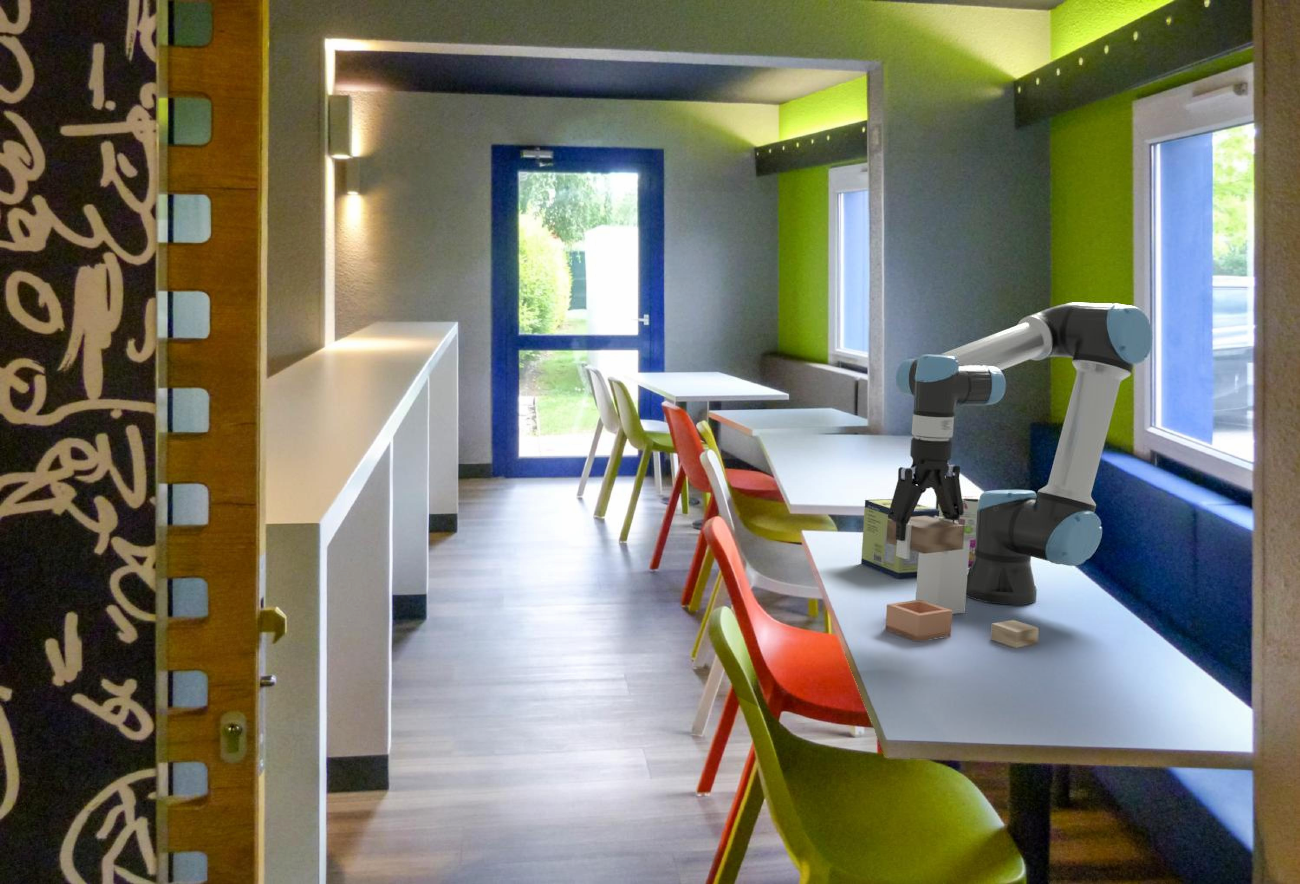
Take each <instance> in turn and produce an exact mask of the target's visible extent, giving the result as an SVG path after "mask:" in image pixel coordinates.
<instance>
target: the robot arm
mask: <svg viewBox="0 0 1300 884" xmlns="http://www.w3.org/2000/svg"><path fill="white" fill-rule="evenodd" d="M1152 330H1153V329H1152V326H1151V324H1150V320H1149V318H1148V316H1147V315H1146V313H1145V312H1144V311H1143V310H1142V309H1140V308H1139V307H1137V306H1134V305H1129V304H1128V305H1127V304H1121V303H1120V302H1119V303H1117V302H1116V303H1094V302H1091V303H1090V302H1078V301H1077V302H1067V303H1065V304H1063V303H1062V304H1060V305H1055V306H1052V307H1049V308H1046V309H1043V310H1042V311H1039V312H1036V313H1032V314H1030V315H1028V316H1025V317H1023V318H1022V319H1020V320H1019V322H1018V323H1017V325H1015V326H1012V327H1009V328H1007V329H1004V330H1001V331H999V332H995V333H994V334H991V335H988V336H985V337H983V338H980V339H977V340H974V341H972V342H969V343H966V344H963V345H960V346H959V347H956V348H954V349H951V350H948V351H946V352H943V353H940V354H922V355H920V356H919V357H918V358H909V359H905V360H903V361H902V362H901V364H899V365H898V367H897V370H896V373H895V382H896V386H897V389H898V390H899V391H900V393H901V394H903V395H905V396H910V397H913V413H912V424H911V427H912V428H911V435H912V436H914V437H912V439H910V453H909V456H910V458H912V463H911V466H910V467H903V466H901V467H899V468H898V470H897V471H898V473H897V482H896V487H895V489H894V491H893V492H894V494H893V496H892V498H891V499H892V503H891V506H890V510H889V513H888V518H889V519H891V520H893V521H895V522H896V535H895V537H896V540H897V549H896V556H898V557H901V558H904V559H909V555H910V540H911V526H912V524H908V522H909V520H910V518H911V516H912V514H913V511H914V509H915V507H916V505H917V503H918V504H919V501H920V498H921V497H922V495H923V494H924V493H925V492H926V491H927V489H933V491H934V494H935V498H936V497H937V500H938V503H939V506H940V508H941V511H942V514H943V516H944V517H945V518H940V519H941V520H945V521H949V522H953V523H954V521H955V520H959V518H960V515H963V513H964V510H963V502H962V496H963V495H962V489H961V481H960V474H961V467H960V465H956V464H950V463H948V461H950V460H951V459H952V455H953V454H952V453H953V452H952V451H953V442H952V440H951V439H950V438H953V436H954V424H955V423H954V422H955V415H956V407H958V406H981V407H985V406H988V405H989V406H990V405H994V404H997V403H998V402H999V401H1001V400H1002V399H1003V397H1004V395H1005V394H1006V393H1005V392H1006V387H1007V385H1006V384H1007V382H1006V376H1004V373H1003V372H1002V370H1005V369H1008V368H1010V367H1014V366H1016V365H1018V364H1021V363H1024V362H1026V361H1028V360H1033V361H1042V360H1044V359H1046V358H1053V357H1054V358H1055V357H1063V358H1072V360H1071V363H1072V365H1073V367H1074V368H1075V370H1076V376H1075V379H1074V384H1073V387H1072V392H1071V395H1070V399H1069V402H1068V406H1067V410H1066V415H1065V417H1064V422H1063V424H1062V428H1061V429H1062V430H1061V433H1060V437H1059V440H1058V444H1057V448H1056V452H1055V455H1054V460H1053V464H1052V468H1051V471H1050V474H1049V478H1048V482H1047V484H1046V485H1045V486H1043V487H1042V488H1040V489H1038V491H1037V493H1036V492H1035V491H1034V490H1028V489H996V490H987V491H984V492H982V493H981V494H980V496H979V497H980V498H979V505H978V509H977V524H976V541H975V555H974V560H973V562H972V565H971V567H969V569H968V575H967V588H966V597H969V598H971V599H974V600H977V601H981V602H985V603H992V604H997V605H998V604H1000V605H1015V606H1016V605H1018V606H1019V605H1027V604H1029V605H1030V604H1031V603H1032V604H1033V603H1034V602H1036V601H1037V592H1038V590H1037V586H1036V585H1035V580H1034V573H1033V570H1032V564H1031V563H1032V562H1031V560H1032V557H1033V558H1035V559H1039V560H1043V561H1046V562H1050V563H1052V564H1055V565H1063V566H1067V567H1070V566H1071V567H1075V566H1079V565H1082V564H1084V563H1085V562H1086V560H1089V559H1090V558H1091V557H1092V556H1093V555H1094V554H1095V552H1096V550H1097V549H1098V547H1099V545H1100V543H1101V539H1102V537H1103V527H1102V526H1101V525H1102V521H1101V519H1100V517H1099V516H1098V515H1097V514H1096V513H1095V511H1096V508H1097V504H1096V502H1095V501H1094V499H1093V498H1092V491H1093V487H1094V484H1095V481H1096V480H1095V479H1096V477H1097V473H1098V469H1099V465H1100V462H1101V457H1102V454H1103V451H1104V447H1105V444H1106V440H1107V439H1106V438H1107V435H1108V431H1109V427H1110V423H1111V419H1112V416H1113V412H1114V408H1115V405H1116V400H1117V398H1118V397H1117V396H1118V393H1119V389H1120V385H1121V382H1122V381H1123V380H1125V379H1127V378H1128V377H1131V374H1132V370H1133V367H1134V365H1138V364H1140V363H1143V362H1144V361H1145V359H1147V358H1148V356H1149V354H1150V353H1151V349H1152V345H1153V331H1152ZM956 507H957V508H956ZM895 513H896V514H895ZM903 515H904V517H903ZM950 552H951V551H943V552H942V553H945V554H950Z"/></svg>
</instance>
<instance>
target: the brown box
mask: <svg viewBox="0 0 1300 884" xmlns="http://www.w3.org/2000/svg"><path fill="white" fill-rule="evenodd" d="M908 524H912V526H911V540H910V550H913V551H917V552H920V553H923V554H926V553H935V552H943V551H952V550H960V549H963V542H964V529H965V526H964V525H960V524H957V523H953V522H949V521H945V520H941V519H937V518H933V517H929V516H917V517H911V518H910V520H909V522H908ZM895 535H896V522H895V521H893V520H891V519H888V523H887V537H886V543H889V544H893V545H896V546H897V540H896V537H895Z"/></svg>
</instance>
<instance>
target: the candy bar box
mask: <svg viewBox="0 0 1300 884" xmlns="http://www.w3.org/2000/svg"><path fill="white" fill-rule="evenodd" d="M979 498H980V496H976V495H975V496H972V495H962V502H963V510H964V513H963V515H960V518H959V520H955V522H958V523H959V524H960V525H964V526H965V529H964V535H965V536H966V537H967V538H968V539H969V540H970V549H969V562H968V568H970V567H971V565H972V562H973V560H974V555H975V541H976V524H977V509H978V505H979ZM956 508H957V507H956ZM935 509H938V510H939V517H941V518H945V517H944V516H943V514H942V511H941V508H940V506H939V503H938V500H937V497H936V496H935Z"/></svg>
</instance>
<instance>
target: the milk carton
mask: <svg viewBox="0 0 1300 884" xmlns="http://www.w3.org/2000/svg"><path fill="white" fill-rule="evenodd" d="M934 518H937V519H940V518H941V517H938V516H934ZM954 523H957V524H959V523H958V522H955V521H954ZM969 549H970V540H969V539H968V538H967V537H966V536H965V535H964V542H963V549H960V550H952V551H951V552H950V554H945V553H942V552H935V553H926V554H923V553H920V552H919V558H918V572H917V578H916V587H915V589H916V590H915V600H923V601H926V602H929V603H932V604H935V605H938V606H941V607H944V608H947V609H950V610H953V612H952V615H957V614H965V610H966V599H967V595H966V588H967V575H968V572H969V567H968V562H969Z"/></svg>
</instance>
